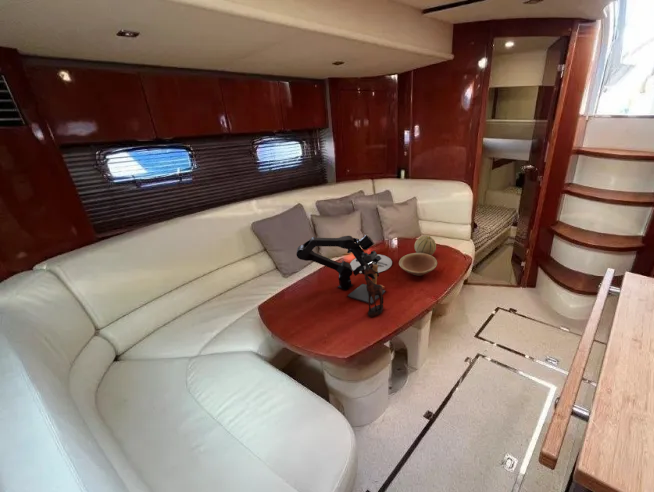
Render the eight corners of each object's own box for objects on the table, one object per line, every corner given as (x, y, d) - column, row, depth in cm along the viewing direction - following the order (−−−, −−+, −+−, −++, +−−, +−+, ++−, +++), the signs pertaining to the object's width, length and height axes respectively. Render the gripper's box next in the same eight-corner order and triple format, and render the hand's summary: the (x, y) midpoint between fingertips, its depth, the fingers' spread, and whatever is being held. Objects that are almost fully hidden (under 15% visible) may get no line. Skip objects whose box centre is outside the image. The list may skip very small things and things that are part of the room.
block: (375, 287, 174) (375, 285, 174) (380, 286, 177) (381, 284, 176) (378, 289, 171) (378, 287, 171) (384, 288, 173) (384, 286, 173)
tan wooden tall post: (366, 287, 173) (367, 263, 167) (372, 286, 175) (373, 262, 170) (375, 293, 167) (377, 268, 162) (380, 291, 170) (382, 266, 164)
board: (347, 296, 168) (347, 295, 167) (362, 285, 178) (362, 283, 178) (371, 304, 161) (371, 303, 160) (385, 291, 171) (385, 290, 171)
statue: (372, 321, 148) (367, 267, 134) (362, 315, 152) (357, 262, 138) (388, 310, 156) (385, 258, 142) (378, 305, 160) (375, 254, 146)
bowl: (393, 277, 185) (393, 266, 181) (407, 261, 204) (407, 250, 201) (430, 284, 177) (430, 272, 173) (441, 266, 196) (441, 255, 193)
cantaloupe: (413, 252, 217) (413, 232, 210) (433, 250, 218) (433, 231, 211) (416, 261, 204) (416, 240, 197) (437, 259, 205) (438, 239, 198)
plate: (400, 260, 206) (400, 258, 205) (375, 278, 185) (375, 276, 185) (367, 251, 219) (367, 250, 219) (341, 267, 199) (341, 265, 198)
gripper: (354, 254, 156) (372, 278, 155) (377, 242, 169) (394, 264, 169) (345, 264, 164) (362, 287, 163) (368, 251, 177) (384, 273, 177)
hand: (376, 277), depth 168 cm, fingers closed on tan wooden tall post, 3 cm apart
